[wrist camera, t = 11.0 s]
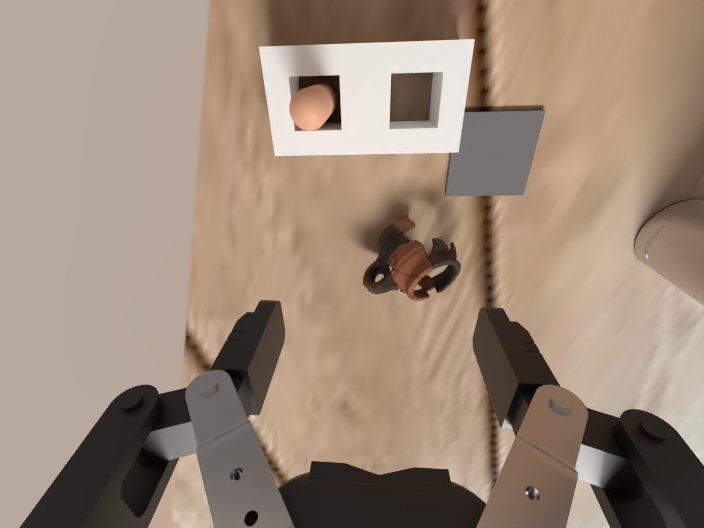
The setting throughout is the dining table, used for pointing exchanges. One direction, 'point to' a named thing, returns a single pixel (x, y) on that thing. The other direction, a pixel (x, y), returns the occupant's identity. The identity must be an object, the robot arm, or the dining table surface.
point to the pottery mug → (410, 264)
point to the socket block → (369, 96)
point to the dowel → (313, 106)
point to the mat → (494, 153)
